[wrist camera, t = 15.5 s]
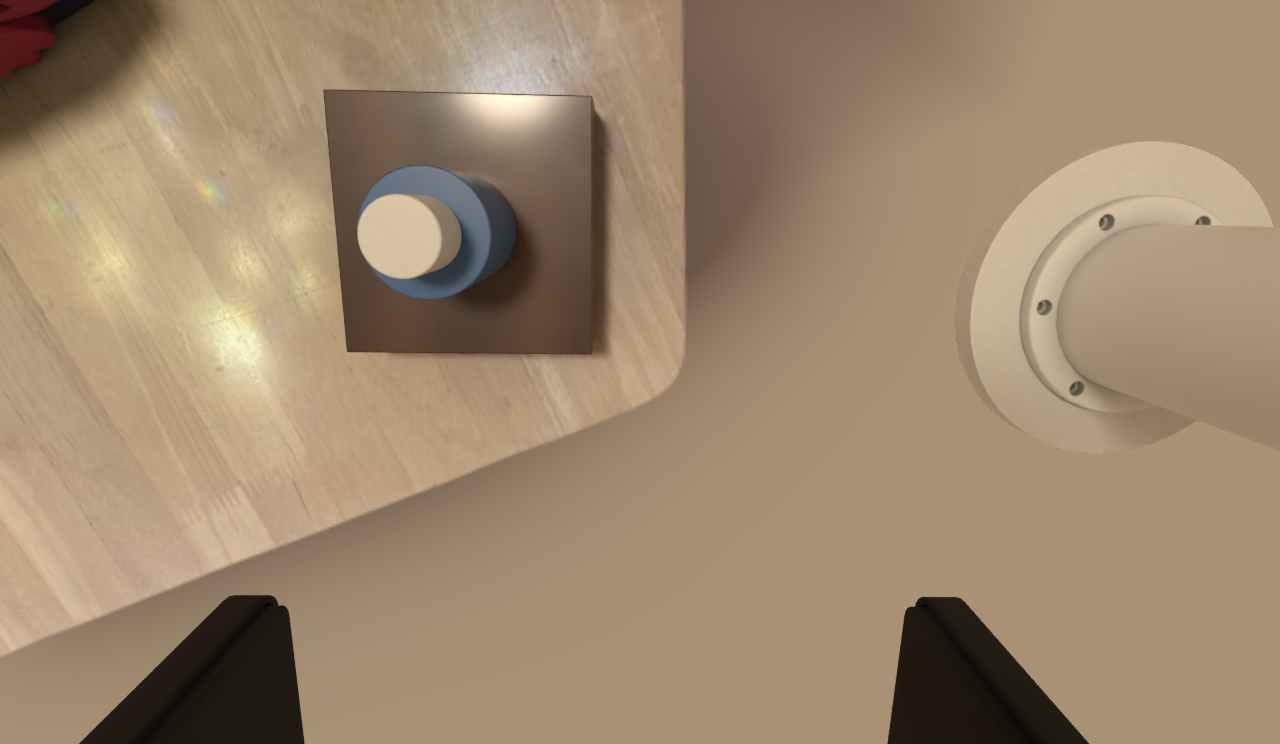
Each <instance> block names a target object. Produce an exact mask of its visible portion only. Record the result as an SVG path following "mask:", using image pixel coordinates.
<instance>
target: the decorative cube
mask: <svg viewBox="0 0 1280 744" xmlns="http://www.w3.org/2000/svg"><path fill="white" fill-rule="evenodd" d="M93 1H95V0H0V77H9V76H10V75H11V73H12V72H13V70H14V69H15V68H16V67H21V66H25V65H30V64H34V63H38V62H41V55H40V50H43V49H47V48H51V47H52V46H53V45H54V44H55V43H56V42H57V40H56V38H55V36H54V33H53V31H52V29H51V28H52V27H53V26H55V25H57V24H58V23H60V22H62V21H63V20H65V19H66V18H68V17H70V16H71V15H73V14H74V13H76V12H77V11H79V10H80V9H82V8H84V7H85V6H87V5H89V4H90V3H92V2H93Z"/></svg>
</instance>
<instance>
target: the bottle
mask: <svg viewBox="0 0 1280 744" xmlns="http://www.w3.org/2000/svg"><path fill="white" fill-rule="evenodd" d="M357 235H358V243H359V246H360V249H361V251H362V254H363V255H364V257H365V259H366V261H367V263H368V265H369V266H370V268H371V269H372V271H373V272H374V273H375V274H376V275H377V276H378V278H379V279H380V280H381V281H383V282H384V283H385V284H386V285H387V286H389V287H390V288H392V289H393V290H395V291H397V292H399V293H401V294H403V295H406V296H409V297H412V298H417V299H423V300H437V299H443V298H447V297H450V296H453V295H455V294H457V293H460V292H462V291H463V290H465V289H467V288H469V287H471V286H473V285H475V284H476V283H478V282H480V281H482V280H484V279H486V278H488V277H489V276H491V275H493V274H494V273H496V272H497V271H498V270H499V269H501V268H502V267H503V265H504V264H505V263H506V262H507V260H508V259H509V257H510V255H511V253H512V251H513V248H514V245H515V240H516V222H515V218H514V214H513V211H512V209H511V207H510V205H509V203H508V201H507V200H506V198H505V197H504V195H503V194H502V193H501V192H500V191H499V190H498V189H497V188H496V187H495V186H494V185H492V184H491V183H489V182H488V181H486V180H484V179H482V178H479V177H477V176H474V175H469V174H465V173H461V172H457V171H452V170H448V169H444V168H440V167H435V166H431V165H409V166H404V167H401V168H398V169H395V170H393V171H391V172H389V173H387V174H386V175H384V176H383V177H381V178H380V179H379V180H378V181H377V182H376V183H375V184H374V185H373V186H372V187H371V189H370V190H369V191H368V193H367V194H366V196H365V198H364V200H363V202H362V205H361V208H360V212H359V216H358V230H357Z"/></svg>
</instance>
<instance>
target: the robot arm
mask: <svg viewBox="0 0 1280 744" xmlns="http://www.w3.org/2000/svg"><path fill="white" fill-rule="evenodd" d="M1037 306H1038V307H1037ZM1020 332H1021V337H1022V342H1023V348H1024V351H1025V353H1026V356H1027V358H1028V361H1029V363H1030V365H1031V367H1032V369H1033V370H1034V372H1035V373H1036V374H1037V376H1038V377H1039V379H1040V380H1041V382H1043V383H1044V384H1045V385H1046V386H1047V387H1048V388H1049V389H1050V390H1051V391H1053V392H1054V393H1055V394H1057V395H1058V396H1060V397H1062V398H1064V399H1065V400H1067V401H1069V402H1071V403H1074V404H1076V405H1079V406H1081V407H1084V408H1086V409H1089V410H1094V411H1099V412H1104V413H1130V412H1135V411H1141V410H1146V409H1149V408H1152V407H1155V406H1159V407H1162V408H1165V409H1167V410H1170V411H1173V412H1176V413H1178V414H1181V415H1184V416H1187V417H1189V418H1192V419H1195V420H1198V421H1200V422H1203V423H1206V424H1208V425H1211V426H1214V427H1217V428H1219V429H1222V430H1225V431H1228V432H1230V433H1233V434H1236V435H1239V436H1241V437H1244V438H1247V439H1250V440H1252V441H1255V442H1258V443H1261V444H1263V445H1266V446H1269V447H1271V448H1274V449H1277V450H1280V227H1257V226H1225V225H1224V224H1223V222H1222V221H1221V220H1220V219H1219V218H1218V217H1217V216H1216V215H1215V214H1213V213H1212V212H1210V211H1209V210H1207V209H1206V208H1204V207H1202V206H1201V205H1199V204H1197V203H1194V202H1192V201H1189V200H1186V199H1183V198H1180V197H1173V196H1165V195H1137V196H1131V197H1126V198H1120V199H1116V200H1113V201H1110V202H1108V203H1105V204H1102V205H1100V206H1097V207H1095V208H1093V209H1092V210H1090V211H1088V212H1086V213H1085V214H1083V215H1081V216H1080V217H1078V218H1076V219H1075V220H1074V221H1073V222H1072V223H1070V224H1069V225H1068V226H1067V227H1066V228H1064V229H1063V230H1062V231H1061V232H1060V233H1059V234H1058V235H1057V236H1056V237H1055V238H1054V240H1053V241H1052V242H1051V243H1050V244H1049V245H1048V247H1047V248H1046V249H1045V250H1044V252H1043V253H1042V255H1041V257H1040V258H1039V260H1038V262H1037V263H1036V265H1035V267H1034V268H1033V270H1032V273H1031V275H1030V278H1029V280H1028V283H1027V285H1026V288H1025V291H1024V296H1023V301H1022V306H1021V314H1020ZM79 744H304V736H303V727H302V719H301V710H300V702H299V693H298V685H297V677H296V668H295V660H294V651H293V643H292V635H291V626H290V617H289V612H288V609H287V608H286V607H285V606H278V602H277V600H276V599H275V597H273V596H271V595H234V596H229V597H228V598H226V599H225V600H224V601H223V602H222V603H221V604H220V605H219V606H218V607H217V608H216V609H215V610H214V611H213V612H212V613H211V614H210V615H209V616H208V617H207V618H206V619H205V620H204V621H203V622H202V623H201V624H200V625H199V626H197V627H196V629H194V631H192V632H191V634H189V635H188V636H187V637H186V638H185V639H184V640H183V641H182V642H181V643H180V644H179V645H178V646H177V647H176V648H175V649H174V650H173V651H172V652H171V653H170V654H169V655H168V656H167V657H166V658H165V659H164V660H163V661H162V662H161V663H160V664H159V665H158V666H157V667H156V668H155V669H154V670H153V671H152V672H151V673H150V674H149V675H148V676H147V677H146V678H145V679H144V680H143V681H142V682H141V683H140V684H139V685H138V686H137V687H136V688H135V689H134V690H133V691H132V692H131V693H130V694H129V695H128V696H127V697H126V698H125V699H124V700H123V701H122V702H121V703H120V704H119V705H118V706H117V707H116V708H115V709H114V710H113V711H112V712H111V713H110V714H109V715H108V716H107V717H106V718H105V719H104V720H103V721H102V722H100V723H99V724H98V726H96V728H94V729H93V730H92V732H90V733H89V734H88V735H87V736H86V737H85V738H84V739H83V740H82V741H81V742H80V743H79ZM888 744H1089V743H1088V742H1087V741H1086V740H1085V739H1084V737H1083V736H1082V735H1081V734H1080V733H1079V732H1078V731H1077V729H1075V727H1074V726H1073V725H1072V724H1071V723H1070V721H1069V720H1068V719H1067V718H1066V717H1065V716H1064V715H1063V714H1062V712H1061V711H1060V710H1059V709H1058V708H1057V707H1056V705H1055V704H1054V703H1053V702H1052V701H1051V700H1050V699H1049V698H1048V696H1047V695H1046V694H1045V693H1044V692H1043V691H1042V690H1041V688H1040V687H1039V686H1038V685H1037V684H1036V683H1035V681H1034V680H1033V679H1032V678H1031V677H1030V676H1029V675H1028V674H1027V672H1026V671H1025V670H1024V669H1023V668H1022V667H1021V666H1020V665H1019V663H1018V662H1017V661H1016V660H1015V659H1014V658H1013V656H1012V655H1011V654H1010V653H1009V652H1008V651H1007V650H1006V648H1005V647H1004V646H1003V645H1002V644H1001V643H1000V642H999V640H998V639H997V638H996V637H995V636H994V635H993V634H992V632H991V631H990V630H989V629H988V628H987V627H986V626H985V624H984V623H983V622H982V621H981V620H980V619H979V618H978V616H977V615H976V614H975V613H974V612H973V611H972V610H971V609H970V607H969V606H968V605H967V604H966V603H965V602H964V601H963V600H962V599H960V598H957V597H921V598H919V599H918V601H917V602H916V605H915V607H909V608H907V610H906V612H905V616H904V624H903V631H902V639H901V646H900V654H899V661H898V669H897V676H896V684H895V692H894V700H893V707H892V714H891V722H890V729H889V737H888Z"/></svg>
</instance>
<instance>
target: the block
mask: <svg viewBox="0 0 1280 744" xmlns="http://www.w3.org/2000/svg"><path fill="white" fill-rule="evenodd" d="M324 102H325V113H326V124H327V135H328V146H329V157H330V168H331V179H332V190H333V202H334V213H335V224H336V235H337V246H338V257H339V268H340V279H341V290H342V301H343V312H344V323H345V334H346V346H347V352H392V353H504V354H592V353H593V347H594V340H595V107H594V102H593V98H592V96H574V95H532V94H491V93H449V92H408V91H366V90H324ZM409 165H431V166H435V167H440V168H444V169H448V170H452V171H457V172H461V173H465V174H469V175H474V176H477V177H479V178H482V179H484V180H486V181H488V182H489V183H491V184H492V185H494V186H495V187H496V188H497V189H498V190H499V191H500V192H501V193H502V194H503V195H504V197H505V198H506V200H507V201H508V203H509V205H510V207H511V209H512V211H513V214H514V218H515V222H516V240H515V245H514V248H513V251H512V253H511V255H510V257H509V259H508V260H507V262H506V263H505V264H504V265H503V267H502V268H501V269H499V270H498V271H497V272H496V273H494V274H493V275H491V276H489V277H488V278H486V279H484V280H482V281H480V282H478V283H476V284H475V285H473V286H471V287H469V288H467V289H465V290H463V291H462V292H460V293H457V294H455V295H453V296H450V297H447V298H443V299H437V300H423V299H417V298H412V297H409V296H406V295H403V294H401V293H399V292H397V291H395V290H393V289H392V288H390V287H389V286H387V285H386V284H385V283H384V282H383V281H381V280H380V279H379V278H378V276H377V275H376V274H375V273H374V272H373V271H372V269H371V268H370V266H369V265H368V263H367V261H366V259H365V257H364V255H363V254H362V251H361V249H360V246H359V243H358V235H357V230H358V216H359V212H360V208H361V205H362V202H363V200H364V198H365V196H366V194H367V193H368V191H369V190H370V189H371V187H372V186H373V185H374V184H375V183H376V182H377V181H378V180H379V179H380V178H381V177H383V176H384V175H386V174H387V173H389V172H391V171H393V170H395V169H398V168H401V167H404V166H409Z"/></svg>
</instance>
